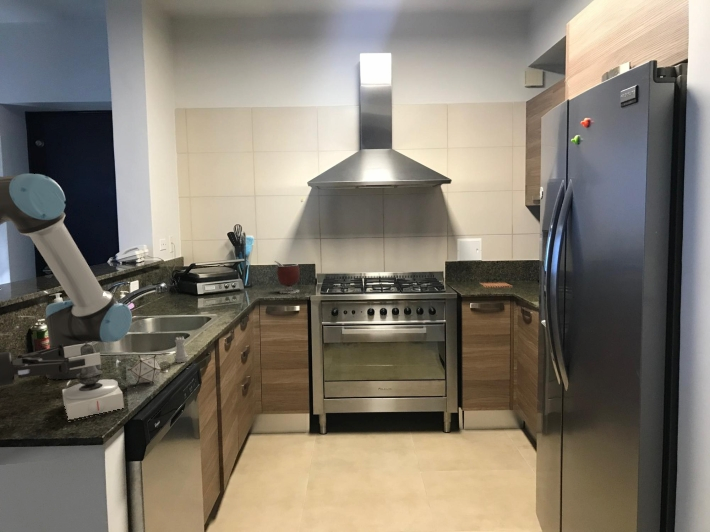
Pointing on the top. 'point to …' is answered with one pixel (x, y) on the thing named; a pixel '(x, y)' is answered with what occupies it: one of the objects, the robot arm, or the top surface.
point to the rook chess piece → (180, 351)
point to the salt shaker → (89, 372)
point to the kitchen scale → (92, 399)
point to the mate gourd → (288, 276)
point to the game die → (145, 369)
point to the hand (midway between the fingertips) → (96, 352)
